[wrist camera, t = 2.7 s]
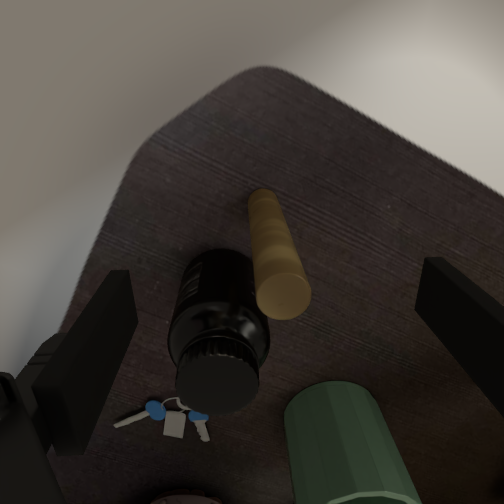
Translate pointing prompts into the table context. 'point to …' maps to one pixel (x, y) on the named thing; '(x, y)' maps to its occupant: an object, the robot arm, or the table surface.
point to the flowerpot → (185, 497)
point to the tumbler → (343, 449)
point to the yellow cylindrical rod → (275, 260)
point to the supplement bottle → (218, 334)
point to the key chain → (171, 419)
